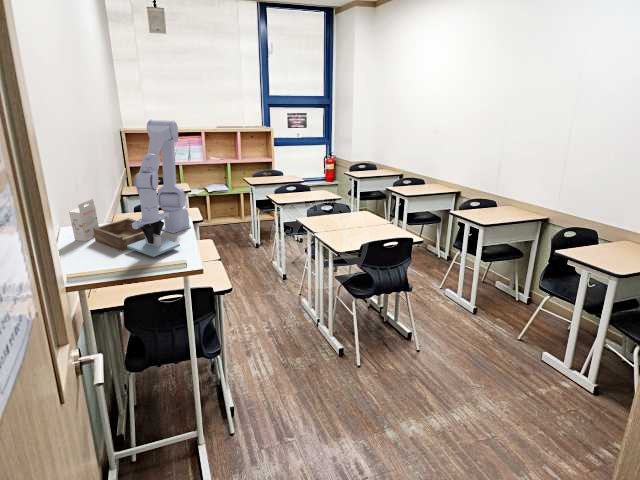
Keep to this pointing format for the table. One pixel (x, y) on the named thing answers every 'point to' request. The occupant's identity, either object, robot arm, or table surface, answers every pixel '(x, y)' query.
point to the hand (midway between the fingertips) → (153, 242)
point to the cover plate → (153, 246)
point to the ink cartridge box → (84, 221)
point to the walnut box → (118, 234)
